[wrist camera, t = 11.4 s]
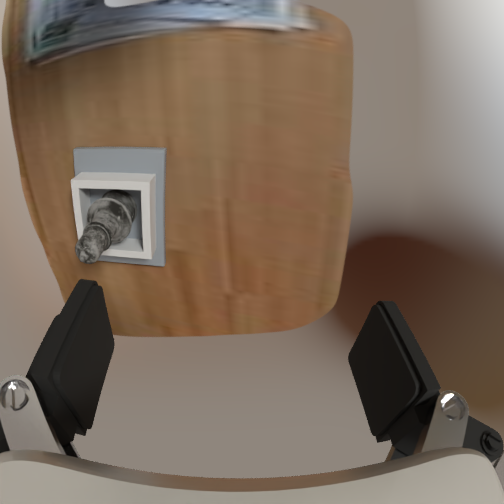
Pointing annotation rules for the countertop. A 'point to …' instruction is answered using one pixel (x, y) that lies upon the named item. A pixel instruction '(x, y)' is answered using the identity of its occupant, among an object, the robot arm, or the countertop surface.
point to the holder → (134, 183)
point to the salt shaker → (106, 224)
